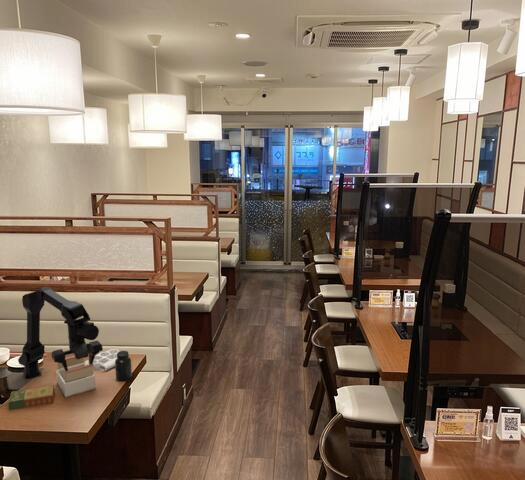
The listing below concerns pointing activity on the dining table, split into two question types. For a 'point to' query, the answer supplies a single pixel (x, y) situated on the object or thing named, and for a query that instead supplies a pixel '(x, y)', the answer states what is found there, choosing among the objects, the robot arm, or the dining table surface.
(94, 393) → the dining table surface
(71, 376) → the flap
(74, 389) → the crate
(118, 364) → the supplement bottle
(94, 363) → the white egg tray
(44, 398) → the carton
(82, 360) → the flap
